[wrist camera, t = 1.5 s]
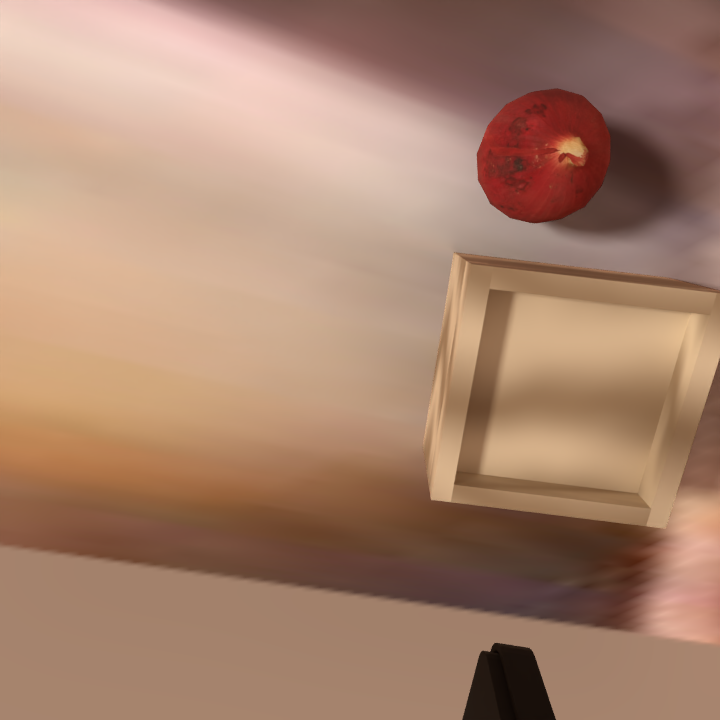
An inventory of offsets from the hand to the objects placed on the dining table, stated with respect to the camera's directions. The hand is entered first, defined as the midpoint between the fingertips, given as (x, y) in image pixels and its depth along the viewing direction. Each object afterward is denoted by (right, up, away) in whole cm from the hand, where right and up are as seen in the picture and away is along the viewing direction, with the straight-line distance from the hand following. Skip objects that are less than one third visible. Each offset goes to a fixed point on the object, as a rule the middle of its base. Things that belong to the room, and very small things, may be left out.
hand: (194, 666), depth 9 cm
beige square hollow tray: (+13, +5, +23) cm, 27 cm away
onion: (+11, +15, +20) cm, 28 cm away
